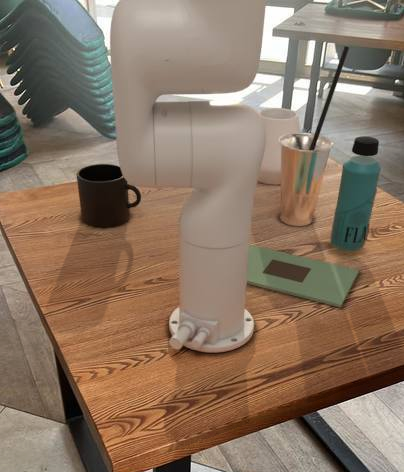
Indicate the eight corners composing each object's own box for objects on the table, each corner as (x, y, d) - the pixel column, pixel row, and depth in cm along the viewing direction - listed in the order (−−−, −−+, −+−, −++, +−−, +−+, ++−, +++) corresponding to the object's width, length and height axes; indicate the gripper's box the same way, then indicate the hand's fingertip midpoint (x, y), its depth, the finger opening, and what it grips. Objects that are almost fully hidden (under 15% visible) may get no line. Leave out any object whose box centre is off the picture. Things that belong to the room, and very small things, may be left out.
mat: (340, 307, 90) (341, 303, 90) (224, 277, 96) (224, 274, 96) (358, 272, 98) (359, 269, 98) (250, 247, 105) (250, 244, 104)
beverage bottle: (337, 261, 101) (358, 147, 89) (321, 243, 106) (339, 133, 94) (370, 256, 103) (396, 144, 90) (353, 240, 108) (375, 131, 95)
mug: (137, 230, 109) (134, 184, 104) (76, 226, 110) (70, 180, 105) (146, 209, 117) (144, 165, 111) (89, 205, 118) (84, 162, 112)
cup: (263, 192, 124) (269, 126, 116) (232, 171, 133) (235, 109, 125) (313, 181, 129) (322, 117, 121) (279, 162, 138) (285, 101, 130)
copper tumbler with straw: (323, 207, 119) (349, 45, 100) (327, 232, 110) (356, 59, 91) (271, 204, 120) (287, 43, 101) (270, 228, 111) (288, 57, 92)
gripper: (192, -104, 95) (191, 22, 107) (145, -106, 84) (150, 36, 95) (234, -104, 93) (229, 26, 104) (191, -106, 81) (190, 40, 93)
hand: (191, 30), depth 100 cm, fingers closed on scrub brush, 2 cm apart
